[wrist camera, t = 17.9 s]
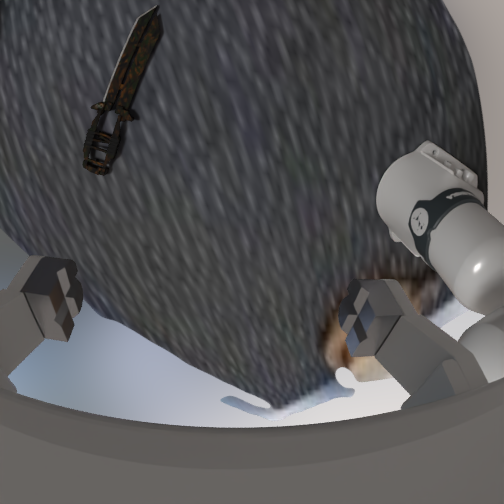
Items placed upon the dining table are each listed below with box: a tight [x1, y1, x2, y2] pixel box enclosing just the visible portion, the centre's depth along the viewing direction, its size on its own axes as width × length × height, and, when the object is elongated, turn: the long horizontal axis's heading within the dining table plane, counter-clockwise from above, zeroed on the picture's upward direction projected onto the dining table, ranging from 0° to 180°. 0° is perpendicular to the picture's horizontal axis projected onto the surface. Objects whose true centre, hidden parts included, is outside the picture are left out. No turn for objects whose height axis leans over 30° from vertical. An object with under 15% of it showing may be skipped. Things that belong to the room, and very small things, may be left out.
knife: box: [83, 5, 160, 176], centre depth 33 cm, size 25×6×1 cm, turn 148°
